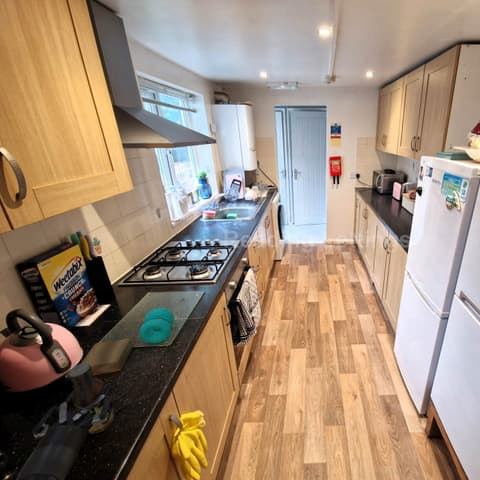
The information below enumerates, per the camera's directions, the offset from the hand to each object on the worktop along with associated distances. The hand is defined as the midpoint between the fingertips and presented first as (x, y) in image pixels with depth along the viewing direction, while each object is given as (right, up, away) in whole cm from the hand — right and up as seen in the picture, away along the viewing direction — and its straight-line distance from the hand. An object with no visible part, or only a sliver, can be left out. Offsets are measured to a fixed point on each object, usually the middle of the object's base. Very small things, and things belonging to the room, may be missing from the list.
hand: (93, 388), depth 68 cm
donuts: (-3, +1, +34) cm, 34 cm away
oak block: (-13, -3, +22) cm, 26 cm away
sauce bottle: (0, -11, +2) cm, 11 cm away
